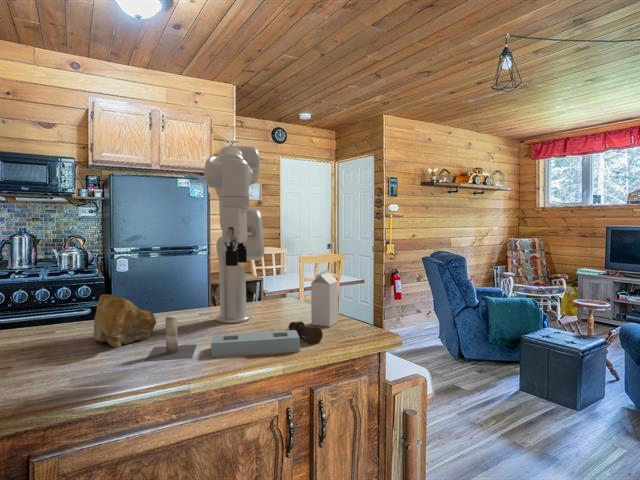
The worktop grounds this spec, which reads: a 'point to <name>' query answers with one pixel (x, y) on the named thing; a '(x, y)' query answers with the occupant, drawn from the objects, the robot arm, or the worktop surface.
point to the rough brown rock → (121, 321)
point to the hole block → (255, 343)
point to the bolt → (307, 332)
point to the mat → (161, 354)
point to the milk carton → (324, 300)
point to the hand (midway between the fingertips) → (236, 263)
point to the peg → (171, 335)
